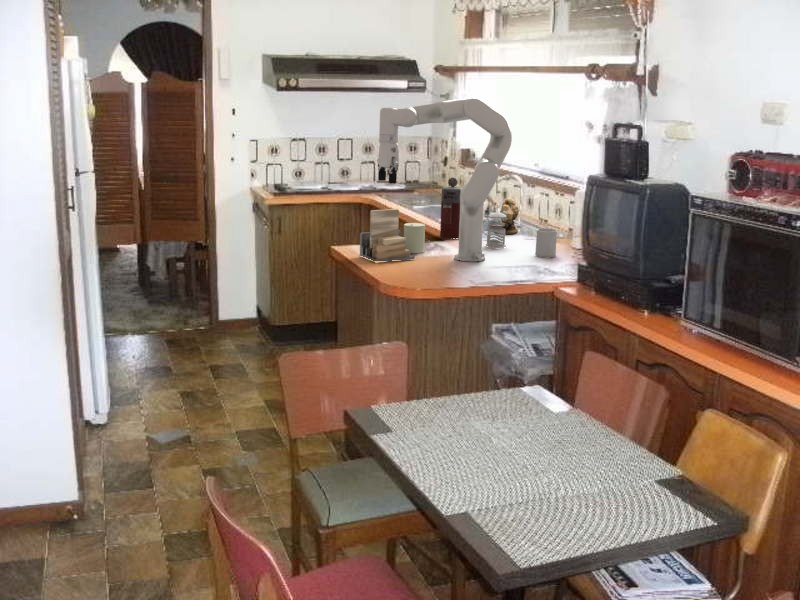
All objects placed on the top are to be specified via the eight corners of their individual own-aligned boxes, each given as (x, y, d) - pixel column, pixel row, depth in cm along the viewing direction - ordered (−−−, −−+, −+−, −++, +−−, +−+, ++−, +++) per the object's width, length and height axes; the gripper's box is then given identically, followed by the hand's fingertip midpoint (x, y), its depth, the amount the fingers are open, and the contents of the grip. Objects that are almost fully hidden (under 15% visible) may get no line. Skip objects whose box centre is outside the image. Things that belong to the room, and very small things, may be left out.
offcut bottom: (409, 256, 363) (409, 250, 362) (378, 258, 357) (378, 252, 356) (402, 253, 368) (402, 247, 368) (372, 256, 362) (372, 250, 361)
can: (399, 251, 380) (399, 223, 378) (409, 248, 388) (409, 221, 386) (418, 254, 376) (419, 225, 373) (428, 250, 384) (429, 223, 381)
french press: (507, 248, 393) (510, 192, 387) (481, 248, 393) (484, 191, 387) (505, 244, 402) (508, 189, 396) (480, 244, 403) (482, 188, 397)
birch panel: (397, 252, 370) (398, 209, 365) (371, 254, 364) (372, 211, 360) (395, 252, 371) (396, 209, 367) (369, 254, 366) (370, 210, 361)
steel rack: (414, 260, 364) (415, 235, 361) (375, 263, 355) (375, 238, 353) (398, 253, 376) (399, 230, 373) (359, 256, 367) (360, 232, 365)
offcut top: (405, 244, 362) (405, 237, 362) (385, 246, 356) (385, 240, 356) (398, 242, 366) (398, 236, 365) (378, 244, 360) (378, 238, 360)
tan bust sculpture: (492, 228, 446) (494, 194, 442) (516, 229, 445) (518, 195, 441) (493, 234, 428) (495, 199, 424) (518, 235, 428) (520, 200, 424)
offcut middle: (405, 250, 362) (405, 244, 361) (378, 252, 356) (378, 246, 356) (398, 248, 367) (399, 242, 366) (372, 250, 361) (372, 243, 361)
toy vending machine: (439, 238, 413) (441, 178, 407) (443, 235, 424) (445, 175, 417) (458, 240, 411) (460, 179, 405) (461, 236, 422) (464, 176, 415)
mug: (553, 258, 374) (555, 232, 371) (533, 256, 377) (534, 230, 374) (558, 253, 385) (560, 228, 382) (539, 251, 388) (540, 226, 385)
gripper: (406, 140, 352) (405, 184, 356) (387, 137, 367) (386, 179, 371) (389, 140, 348) (388, 184, 352) (370, 137, 363) (369, 179, 367)
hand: (387, 182), depth 362 cm, fingers open, 9 cm apart
